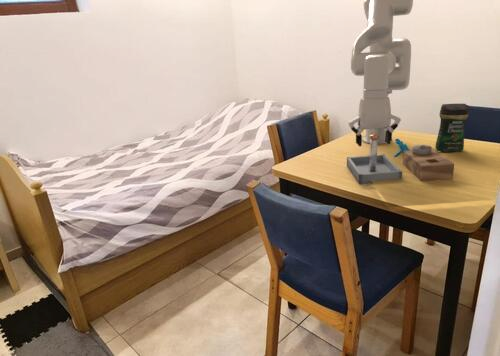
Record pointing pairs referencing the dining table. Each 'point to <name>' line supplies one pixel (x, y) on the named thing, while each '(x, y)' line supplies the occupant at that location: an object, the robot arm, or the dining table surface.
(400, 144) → the gear
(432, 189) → the dining table surface
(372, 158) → the pin
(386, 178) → the tray
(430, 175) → the tensioner block
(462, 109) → the coffee jar
